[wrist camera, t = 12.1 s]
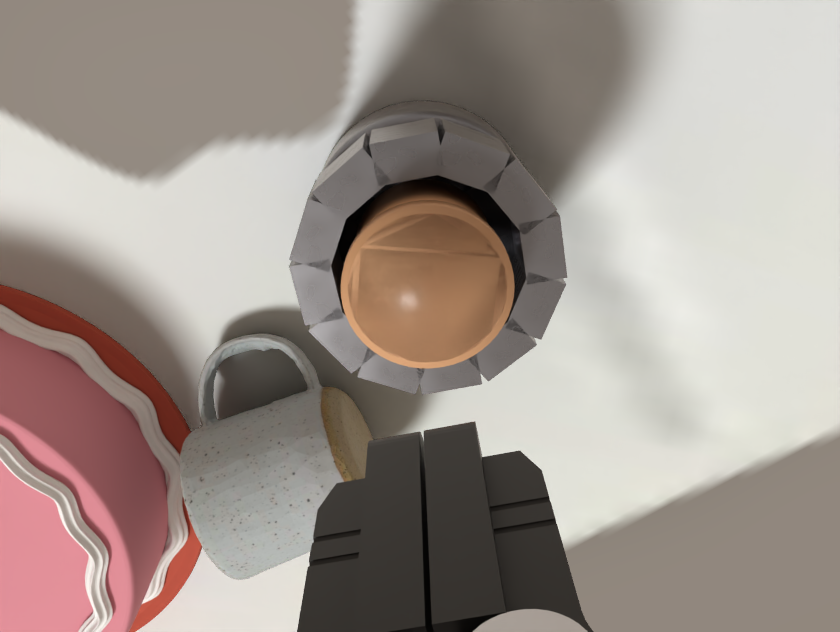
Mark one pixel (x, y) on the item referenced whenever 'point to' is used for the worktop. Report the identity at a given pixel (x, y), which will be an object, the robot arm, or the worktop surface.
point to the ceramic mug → (267, 465)
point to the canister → (447, 162)
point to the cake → (85, 478)
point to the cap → (426, 276)
